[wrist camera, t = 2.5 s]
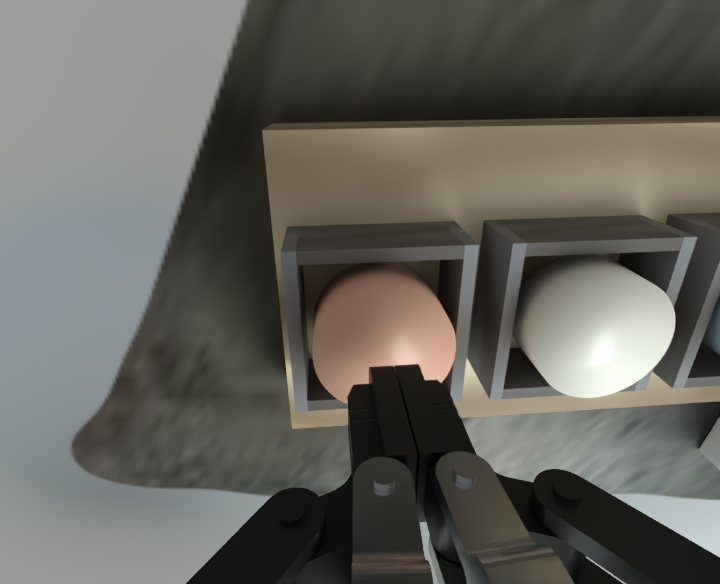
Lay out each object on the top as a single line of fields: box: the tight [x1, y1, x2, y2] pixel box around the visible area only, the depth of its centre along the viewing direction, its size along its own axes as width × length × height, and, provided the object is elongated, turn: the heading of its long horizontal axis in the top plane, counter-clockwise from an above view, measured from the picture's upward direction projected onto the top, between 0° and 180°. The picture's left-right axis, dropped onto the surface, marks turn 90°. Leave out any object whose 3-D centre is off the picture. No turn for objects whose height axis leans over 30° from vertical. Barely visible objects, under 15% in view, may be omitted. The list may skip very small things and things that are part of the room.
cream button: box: [512, 254, 675, 398], centre depth 17 cm, size 5×5×2 cm
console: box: [262, 116, 720, 429], centre depth 20 cm, size 14×24×7 cm, turn 90°
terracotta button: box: [313, 262, 456, 404], centre depth 16 cm, size 5×5×2 cm
